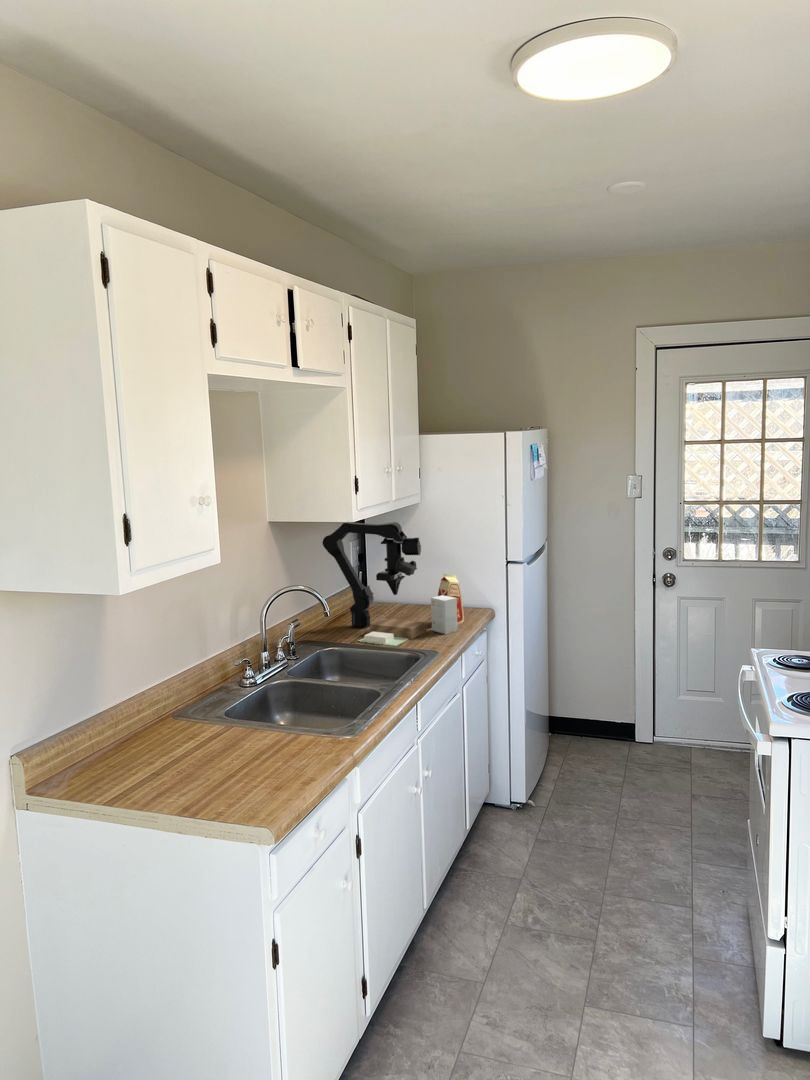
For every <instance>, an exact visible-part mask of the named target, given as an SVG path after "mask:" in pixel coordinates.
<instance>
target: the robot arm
mask: <svg viewBox="0 0 810 1080" xmlns="http://www.w3.org/2000/svg"><path fill="white" fill-rule="evenodd" d="M402 528H403V527H402V526H401V524H400V523H399V522H397V521H396V522H395V521H393V522H385V523H378V524H377V523H364V522H363V523H362V522H351V523H345V522H343V523H342V524H341V526H339V527H338V528H337V529H336V530H335V531H334V532H332V533H330V534H327V535H326V536H325V537H323V539H322V546H323V548H324V549H325V550H326V551H327V553H328V554H329V555H330V556H331V557H333V558H334V560H335V561H336V563H337V564H338V567H339V568H340V570H341V573H342V574H343V576H344V577H345V580H346V581H347V583H348V585H349V586H350V589H351V591H352V599H353V601H354V604H353V605H351V606H350V607H349V610H350V614H351V625H349V627H350V628H357V629H365V628H368V627H370V624H371V615H370V611H369V610H368V609H369V608H370V606H371V605H372V604H373V603H374V592H373V591H372V590H371V587H370V586H369V585H367V586H365V585H364V584H363V583H362V581H361V580H360V578H359V576H358V574H357V572H356V571H355V569H354V567H353V565H352V563H351V561H350V560H349V558H348V556H347V554H346V552H345V546H344V543H343V540H344V539H345V537H347V535H348V534H349V533H350V534H363V535H364V534H365V535H375V536H376V535H377V536H381V537H382V538H384V539H382V541H381V542H380V545H385V546H386V547H385V549H386V557H385V558H384V562H386V568H384V570H383V571H380V572H378V573H376V574H375V575H376V576H375V577H376V578H375V579H376V581H383V582H386V583H387V585H388V587H389V588H390V591H391V592H392V594H393V595H394V596H397V595H398V592H399V589H400V585H401V581H403V580H404V578H405V577H406V576H408V577H409V576H412V575H414V574H415V571H416V570H417V568H418V567H417V563H416V562H417V561H414V560H411V561H410V562H409V561H405V557H404V556H402V554H403V555H405V556H421V552H422V545H421V541H420V537H418V536H417V537H407V535H406V534H405V533H404V531H403V529H402ZM403 574H404V575H403Z"/></svg>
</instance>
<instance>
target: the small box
mask: <svg viewBox="0 0 810 1080" xmlns="http://www.w3.org/2000/svg"><path fill="white" fill-rule="evenodd" d="M430 608H431V611H430V613H431V614H430V615H431V616H430V617H431V618H430V619H431V631H433V632H436V633H440V634H443V635H448V634H452V633H456V632H458V624H457V598H453V597H449V596H444V595H442V596H438V595H437V596H431V597H430Z"/></svg>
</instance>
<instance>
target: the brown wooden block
mask: <svg viewBox="0 0 810 1080" xmlns="http://www.w3.org/2000/svg"><path fill="white" fill-rule="evenodd" d="M369 631H370V632H382V633H391V634H394V637H401V638H409V640H413V639H415V638H417V637H419V636H421V635H423V634H425V622H423V621H417V620H415V621H413V620H405V619H396V618H388V617H387V618H385V617H383V618H381V619H379V620H376V621H374V622H370V626H369ZM370 632H369V633H370Z"/></svg>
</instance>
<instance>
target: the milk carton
mask: <svg viewBox="0 0 810 1080" xmlns="http://www.w3.org/2000/svg"><path fill="white" fill-rule="evenodd" d="M442 595H444V596H449V597H453V598H457V625H459V624H463V622H464V623H465V617H464V616H465V615H464V614H465V613H464V605H463V598H462V597H463V596H462V591H461V585H460V582H459V580H458V579H457V574H447V573H443V577H442V578H441V580H440V582H439V588H438V592H437V596H442Z"/></svg>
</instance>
